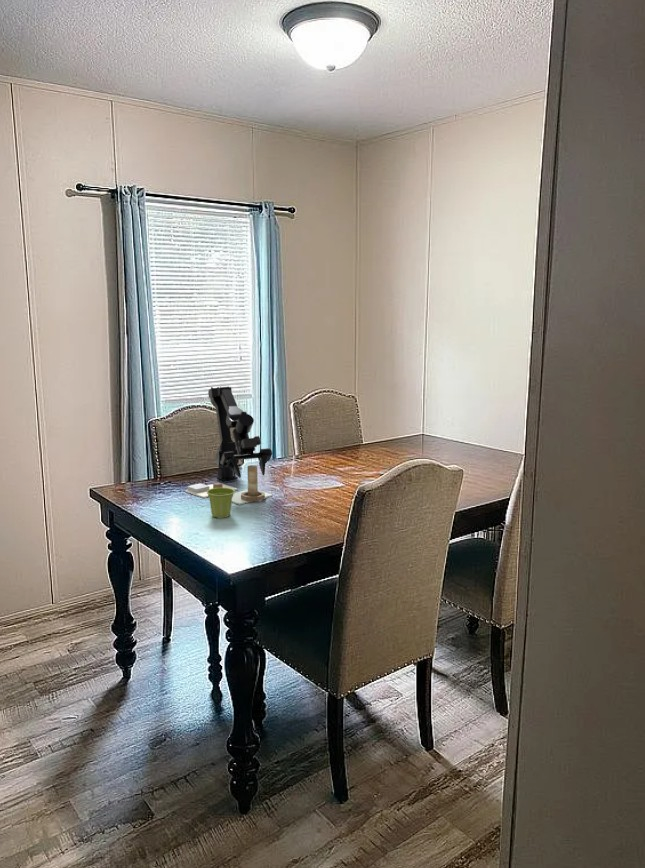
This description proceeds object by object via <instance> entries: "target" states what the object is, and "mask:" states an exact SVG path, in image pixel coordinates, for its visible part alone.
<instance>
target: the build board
mask: <svg viewBox="0 0 645 868" xmlns="http://www.w3.org/2000/svg"><path fill="white" fill-rule="evenodd" d="M272 497H273V494H271V493H268V492H266V491H261V490H258V496H256V497H248V489H246V490H241V491H237V492H234V494H233V497H232V502H231V504H235V505H239V506H242V505H245V503H246V504H249V503H253V502H259V501H263V500H265V499H266V498H272ZM241 504H242V505H241Z"/></svg>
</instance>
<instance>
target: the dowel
mask: <svg viewBox="0 0 645 868" xmlns="http://www.w3.org/2000/svg"><path fill="white" fill-rule="evenodd" d="M258 478H259V477H258V466H257V465H254V464H252V465H251V464H250V465H247V490H248V497H256V496H258V489H259V488H258V484H259V483H258Z"/></svg>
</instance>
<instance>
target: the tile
mask: <svg viewBox="0 0 645 868" xmlns="http://www.w3.org/2000/svg"><path fill="white" fill-rule="evenodd" d="M213 488H230V489H233V490H234V491H235V490H236V491H238V490H239V489H238V488H237V487H233V486H231V485H227V484H224V483H222V482H214V483H211V484H208V485H206V484H204V483H202V482H201V483H197V484H196V483H195V484H190V485H187V489H186V490H185V493H188V494H190V493H191V495H194V496H196V497H199V498H201V499H206V498H209V497H208V494H207V491H208V490H209V489H213Z"/></svg>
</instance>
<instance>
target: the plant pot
mask: <svg viewBox="0 0 645 868" xmlns="http://www.w3.org/2000/svg"><path fill="white" fill-rule="evenodd" d="M234 493H236V492H235V491H234V490H233V489H230V488H213V489H209V490H208V491H207V494H208V497H207V498H209V504H210V511H211V516H212V517H213V518H218V519H221V518H222V519H223V518H227V517H229V516H231V510H232V497H233V494H234Z"/></svg>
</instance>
